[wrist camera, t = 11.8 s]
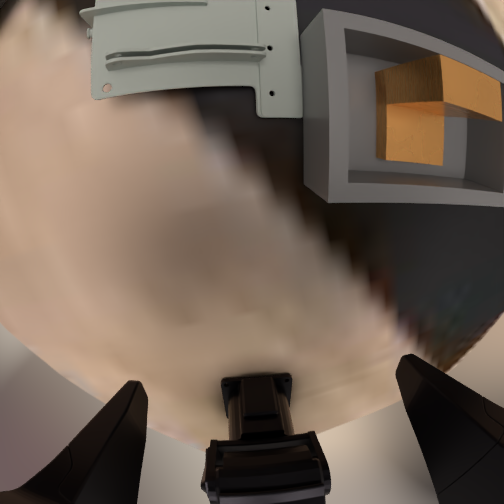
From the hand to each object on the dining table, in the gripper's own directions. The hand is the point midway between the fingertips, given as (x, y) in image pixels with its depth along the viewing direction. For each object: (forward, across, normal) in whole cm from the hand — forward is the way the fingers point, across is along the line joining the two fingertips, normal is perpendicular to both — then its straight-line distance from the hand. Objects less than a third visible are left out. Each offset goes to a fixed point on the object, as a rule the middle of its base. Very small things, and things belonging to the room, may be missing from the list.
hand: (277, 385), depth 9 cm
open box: (+12, -11, -9) cm, 19 cm away
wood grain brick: (+12, -11, -9) cm, 18 cm away
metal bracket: (+13, +3, -16) cm, 20 cm away
